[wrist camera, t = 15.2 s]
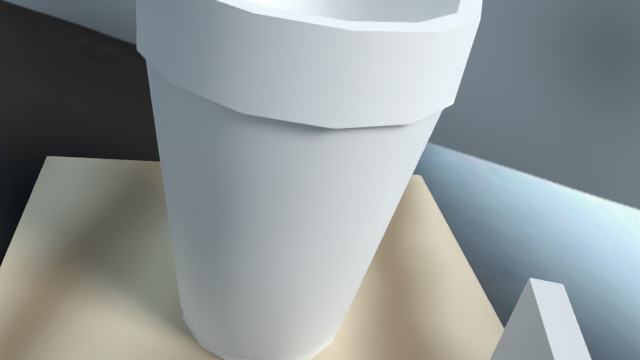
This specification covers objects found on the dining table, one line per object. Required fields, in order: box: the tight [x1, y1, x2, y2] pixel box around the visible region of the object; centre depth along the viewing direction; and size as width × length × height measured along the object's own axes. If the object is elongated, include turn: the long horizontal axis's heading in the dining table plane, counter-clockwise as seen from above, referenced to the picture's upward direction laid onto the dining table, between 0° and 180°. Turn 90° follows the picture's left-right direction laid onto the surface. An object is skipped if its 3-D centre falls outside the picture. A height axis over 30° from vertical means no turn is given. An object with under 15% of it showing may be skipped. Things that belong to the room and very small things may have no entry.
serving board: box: [0, 156, 504, 360], centre depth 23 cm, size 20×20×2 cm
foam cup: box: [136, 0, 482, 360], centre depth 19 cm, size 10×9×13 cm
